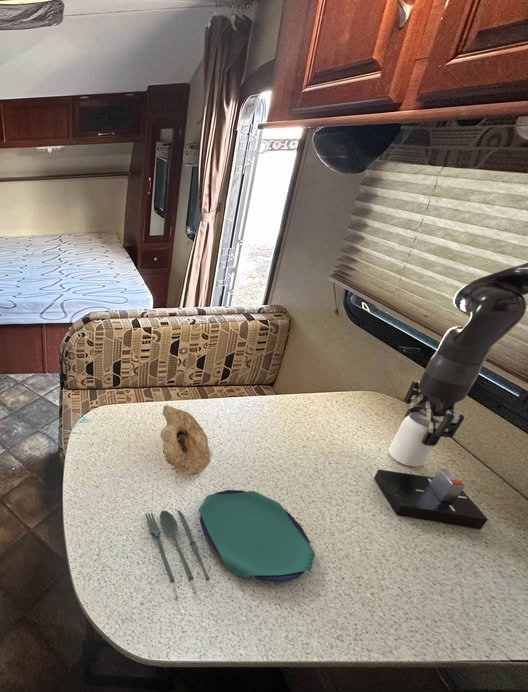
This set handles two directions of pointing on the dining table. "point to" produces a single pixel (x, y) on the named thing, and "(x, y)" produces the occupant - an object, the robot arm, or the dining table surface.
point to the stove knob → (446, 485)
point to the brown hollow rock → (184, 441)
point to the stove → (426, 500)
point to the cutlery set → (245, 536)
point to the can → (411, 441)
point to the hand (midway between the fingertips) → (417, 433)
